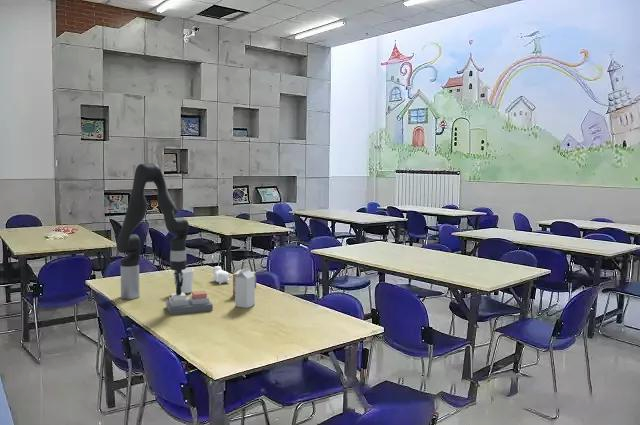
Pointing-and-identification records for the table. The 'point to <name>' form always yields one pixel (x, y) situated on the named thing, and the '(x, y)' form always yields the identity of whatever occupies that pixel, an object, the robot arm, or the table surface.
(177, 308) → the key base
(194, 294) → the red key
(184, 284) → the cup
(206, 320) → the table surface
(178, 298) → the ivory key
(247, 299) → the milk carton
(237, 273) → the gray gift bag
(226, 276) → the white animal figurine
